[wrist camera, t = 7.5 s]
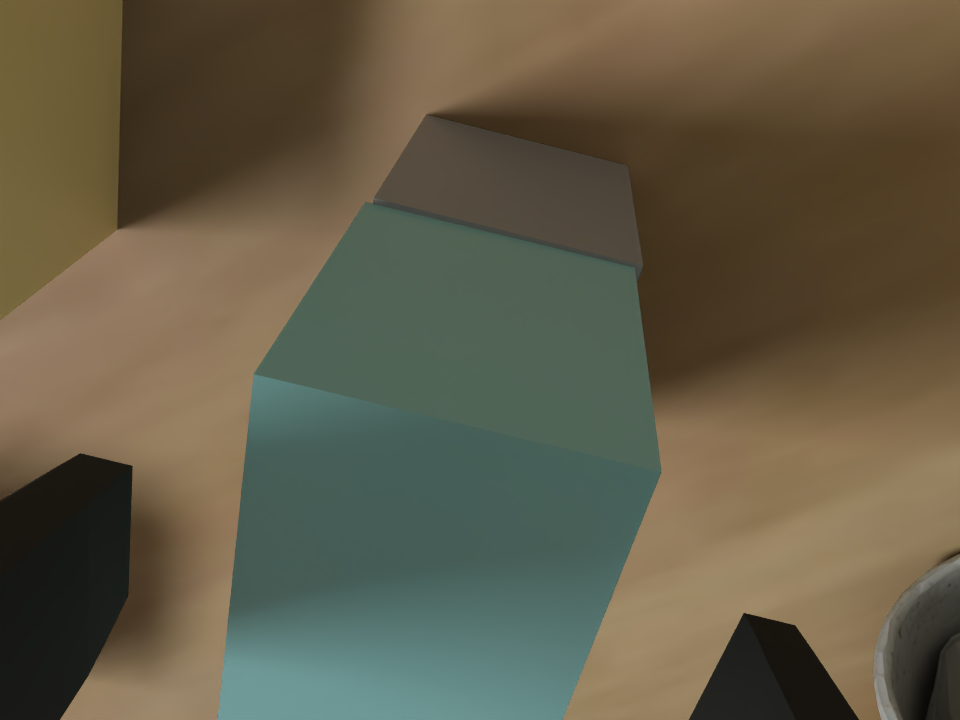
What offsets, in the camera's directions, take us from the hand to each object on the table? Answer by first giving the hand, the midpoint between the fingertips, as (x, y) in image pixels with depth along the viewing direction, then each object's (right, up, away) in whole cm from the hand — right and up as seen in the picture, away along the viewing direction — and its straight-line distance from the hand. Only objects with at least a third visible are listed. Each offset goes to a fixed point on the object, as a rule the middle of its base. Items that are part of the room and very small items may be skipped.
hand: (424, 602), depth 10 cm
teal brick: (0, +2, +4) cm, 5 cm away
